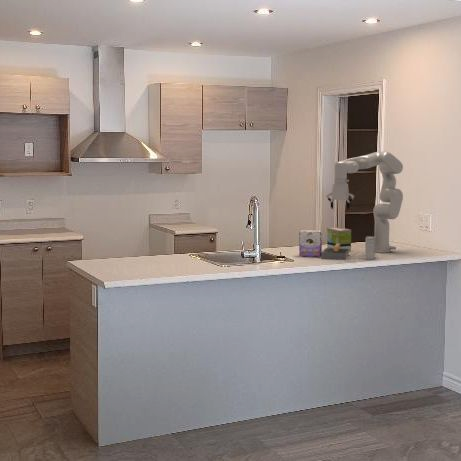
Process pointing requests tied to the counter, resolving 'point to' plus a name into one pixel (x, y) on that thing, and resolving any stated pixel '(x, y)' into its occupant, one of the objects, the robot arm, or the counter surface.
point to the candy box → (310, 243)
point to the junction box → (369, 248)
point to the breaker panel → (334, 254)
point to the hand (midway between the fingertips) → (340, 208)
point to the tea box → (339, 238)
